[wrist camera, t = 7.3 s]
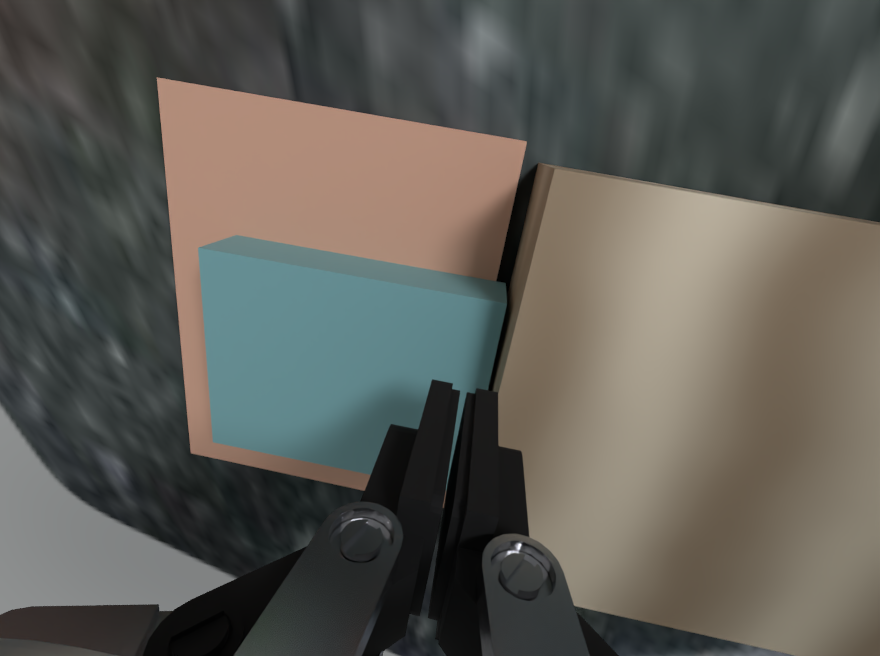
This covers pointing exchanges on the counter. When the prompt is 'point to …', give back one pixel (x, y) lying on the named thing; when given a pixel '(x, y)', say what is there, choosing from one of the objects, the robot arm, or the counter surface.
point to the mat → (321, 207)
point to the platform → (699, 408)
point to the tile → (335, 347)
